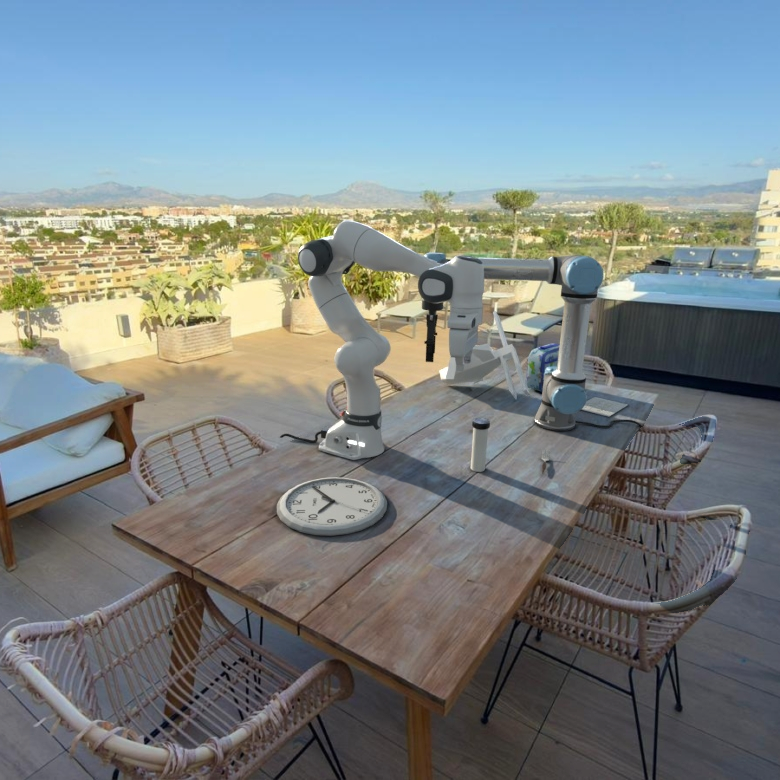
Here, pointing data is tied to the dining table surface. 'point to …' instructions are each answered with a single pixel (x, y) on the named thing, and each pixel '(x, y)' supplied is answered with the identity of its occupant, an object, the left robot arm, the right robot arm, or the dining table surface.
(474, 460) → the white cylinder
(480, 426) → the lid
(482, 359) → the white plastic object
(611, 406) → the invitation card
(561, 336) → the right robot arm
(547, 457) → the fork
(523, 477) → the dining table surface
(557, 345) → the lunch box
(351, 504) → the wall clock
